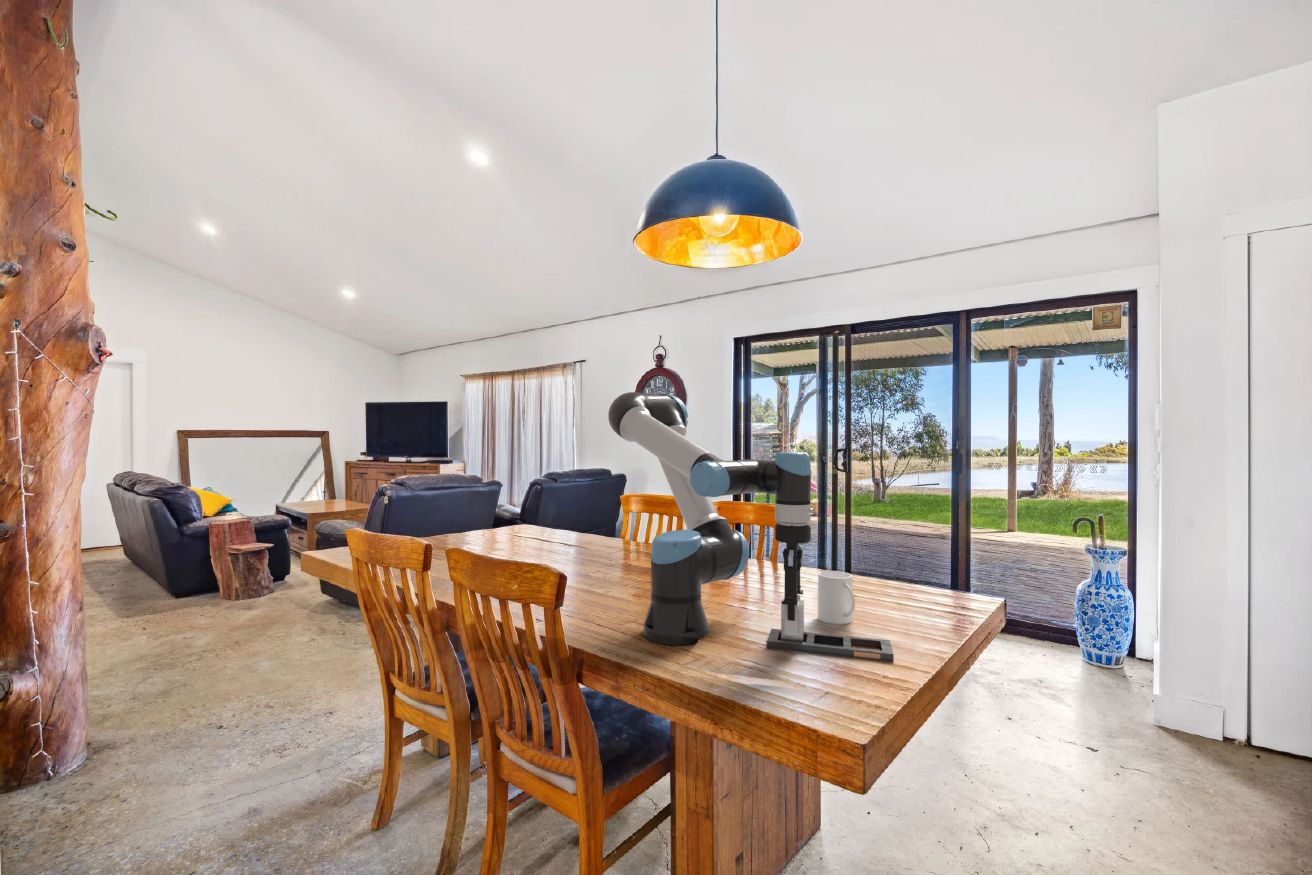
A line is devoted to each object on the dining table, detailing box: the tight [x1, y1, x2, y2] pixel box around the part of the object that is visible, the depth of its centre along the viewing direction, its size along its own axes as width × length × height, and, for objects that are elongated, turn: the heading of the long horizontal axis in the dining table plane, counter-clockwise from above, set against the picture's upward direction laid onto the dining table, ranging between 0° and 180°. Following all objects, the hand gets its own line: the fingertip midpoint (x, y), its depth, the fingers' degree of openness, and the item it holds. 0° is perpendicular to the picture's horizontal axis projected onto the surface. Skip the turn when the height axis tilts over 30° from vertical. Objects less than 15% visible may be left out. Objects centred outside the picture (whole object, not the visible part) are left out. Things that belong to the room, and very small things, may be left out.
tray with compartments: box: [766, 628, 894, 663], centre depth 124 cm, size 25×8×2 cm, turn 73°
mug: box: [817, 570, 856, 625], centre depth 143 cm, size 12×8×12 cm
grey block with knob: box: [780, 598, 805, 643], centre depth 127 cm, size 4×4×10 cm
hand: (792, 629), depth 127 cm, fingers open, 6 cm apart
